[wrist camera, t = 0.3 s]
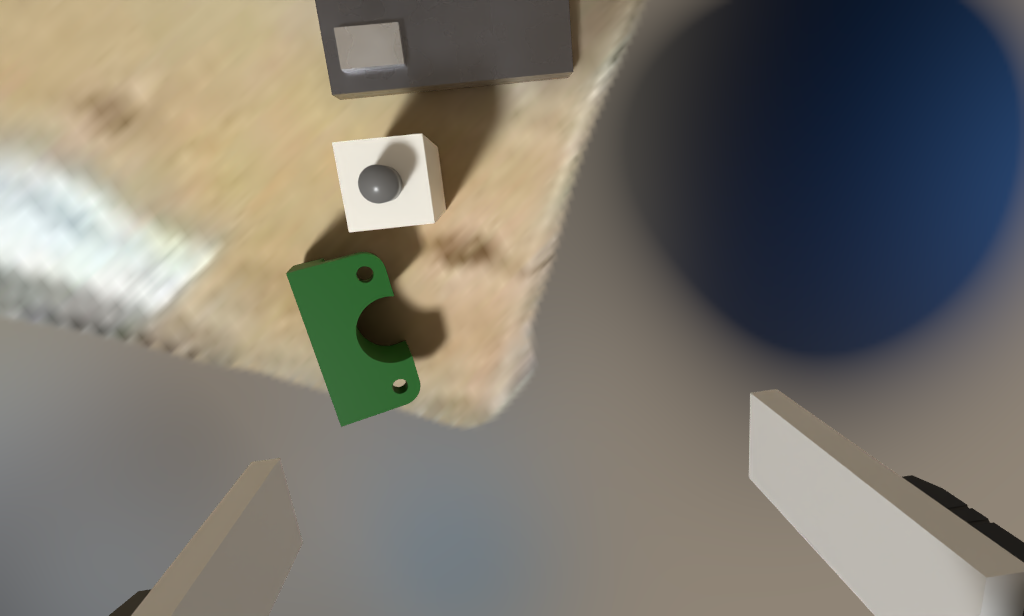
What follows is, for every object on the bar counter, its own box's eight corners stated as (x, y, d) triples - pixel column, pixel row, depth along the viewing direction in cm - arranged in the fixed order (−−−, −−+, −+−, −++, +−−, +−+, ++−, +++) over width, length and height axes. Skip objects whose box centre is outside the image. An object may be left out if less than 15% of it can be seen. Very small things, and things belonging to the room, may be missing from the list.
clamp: (404, 341, 43) (429, 413, 37) (335, 362, 42) (348, 442, 35) (368, 219, 36) (392, 282, 29) (284, 240, 35) (288, 311, 28)
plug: (375, 153, 35) (319, 139, 23) (437, 146, 35) (417, 129, 23) (385, 216, 36) (338, 236, 24) (446, 210, 37) (431, 226, 24)
